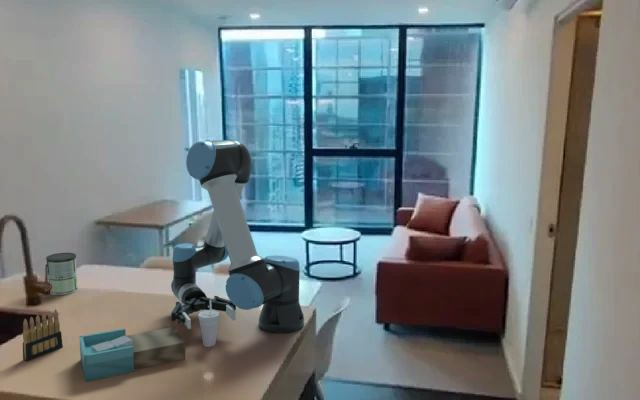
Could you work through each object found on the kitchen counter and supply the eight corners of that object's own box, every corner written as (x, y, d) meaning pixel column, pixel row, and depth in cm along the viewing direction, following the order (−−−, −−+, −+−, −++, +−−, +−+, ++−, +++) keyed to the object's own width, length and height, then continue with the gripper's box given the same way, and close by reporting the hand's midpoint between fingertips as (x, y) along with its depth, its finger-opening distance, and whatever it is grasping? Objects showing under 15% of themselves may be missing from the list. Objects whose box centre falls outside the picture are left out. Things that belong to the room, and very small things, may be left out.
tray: (125, 350, 147) (124, 328, 146) (134, 371, 136) (133, 346, 135) (80, 359, 142) (79, 336, 140) (85, 381, 130) (83, 356, 129)
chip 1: (108, 349, 138) (107, 341, 138) (115, 354, 135) (115, 346, 135) (91, 354, 135) (91, 346, 135) (99, 360, 132) (98, 351, 132)
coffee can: (43, 291, 196) (40, 256, 194) (69, 284, 204) (67, 251, 202) (56, 297, 190) (54, 261, 188) (83, 290, 198) (81, 255, 196)
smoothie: (217, 349, 150) (217, 304, 148) (196, 348, 150) (195, 303, 148) (222, 339, 156) (221, 296, 154) (201, 339, 156) (200, 296, 154)
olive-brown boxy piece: (174, 342, 154) (174, 326, 153) (185, 358, 143) (184, 342, 143) (126, 352, 147) (125, 335, 146) (133, 369, 137) (132, 352, 136)
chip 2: (125, 343, 141) (124, 335, 141) (133, 348, 138) (132, 339, 138) (110, 350, 138) (108, 341, 138) (117, 354, 135) (116, 346, 134)
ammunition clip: (26, 361, 140) (23, 320, 138) (22, 359, 141) (19, 319, 139) (63, 347, 149) (60, 308, 147) (59, 345, 150) (56, 307, 148)
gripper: (228, 302, 174) (252, 324, 155) (154, 315, 161) (170, 340, 143) (228, 281, 173) (251, 301, 154) (153, 292, 160) (169, 315, 142)
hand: (212, 320), depth 149 cm, fingers open, 13 cm apart
